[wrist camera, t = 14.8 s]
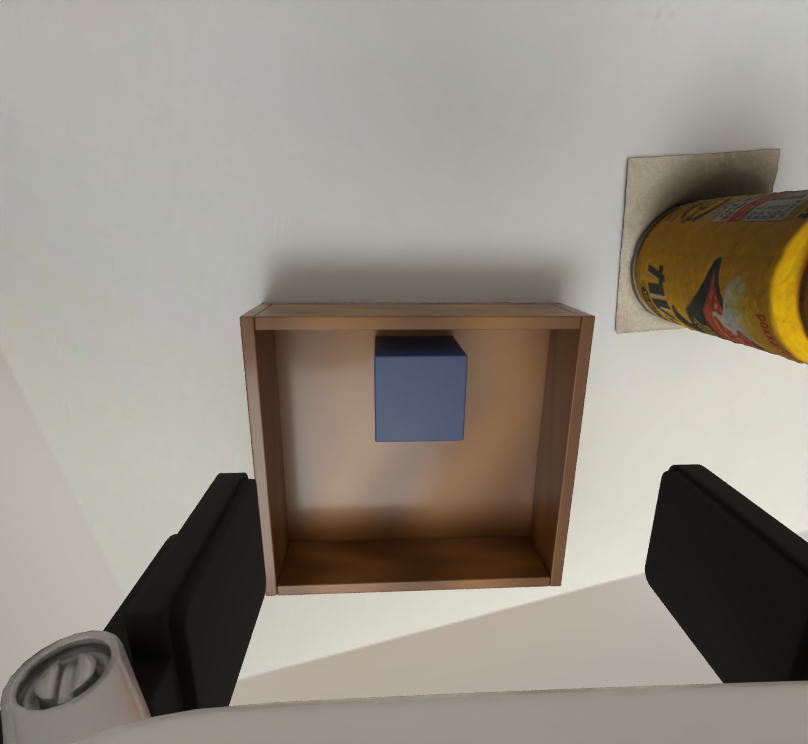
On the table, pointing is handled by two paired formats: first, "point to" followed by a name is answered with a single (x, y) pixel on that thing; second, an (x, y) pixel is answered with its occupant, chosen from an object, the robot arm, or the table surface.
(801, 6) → the table surface
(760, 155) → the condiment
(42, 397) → the table surface
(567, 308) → the tray
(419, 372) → the blue cube
